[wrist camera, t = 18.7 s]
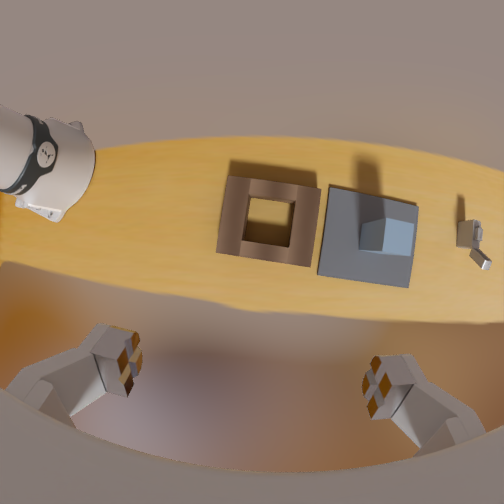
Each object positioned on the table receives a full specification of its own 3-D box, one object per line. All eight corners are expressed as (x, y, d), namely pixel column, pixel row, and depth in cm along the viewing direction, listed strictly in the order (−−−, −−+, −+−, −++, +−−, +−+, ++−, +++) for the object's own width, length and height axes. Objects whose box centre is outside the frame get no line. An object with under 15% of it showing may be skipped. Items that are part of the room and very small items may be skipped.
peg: (358, 250, 37) (382, 251, 28) (362, 224, 36) (386, 217, 27) (382, 254, 36) (410, 256, 27) (385, 228, 36) (414, 223, 27)
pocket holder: (220, 252, 39) (215, 252, 36) (231, 180, 38) (228, 175, 35) (307, 265, 38) (310, 267, 35) (317, 193, 37) (321, 188, 34)
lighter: (458, 221, 36) (488, 217, 28) (465, 223, 35) (495, 219, 27) (454, 265, 36) (484, 269, 28) (461, 266, 36) (491, 270, 28)
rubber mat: (317, 274, 38) (317, 275, 37) (329, 188, 37) (330, 187, 37) (406, 287, 37) (408, 288, 36) (416, 207, 36) (418, 206, 36)
